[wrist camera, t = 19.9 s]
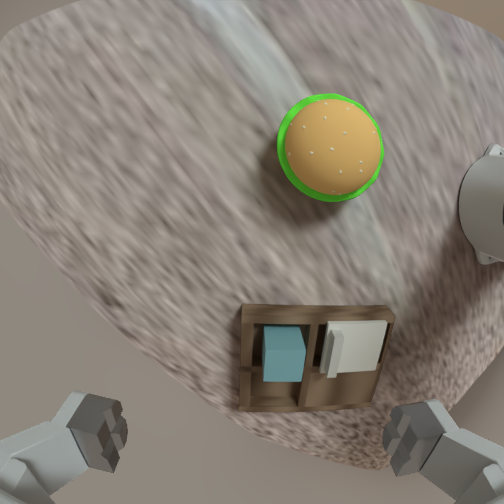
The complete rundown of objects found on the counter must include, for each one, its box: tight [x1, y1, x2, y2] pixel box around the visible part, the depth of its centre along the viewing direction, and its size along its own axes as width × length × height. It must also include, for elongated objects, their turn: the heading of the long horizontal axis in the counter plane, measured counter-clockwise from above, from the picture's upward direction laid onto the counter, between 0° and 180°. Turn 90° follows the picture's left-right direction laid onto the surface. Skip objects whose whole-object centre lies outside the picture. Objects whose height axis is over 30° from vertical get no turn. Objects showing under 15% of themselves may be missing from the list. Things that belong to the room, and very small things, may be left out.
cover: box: [319, 320, 387, 378], centre depth 37 cm, size 8×8×3 cm
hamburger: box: [277, 94, 384, 202], centre depth 31 cm, size 12×12×9 cm
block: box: [262, 324, 306, 382], centre depth 37 cm, size 4×4×7 cm
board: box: [239, 304, 395, 412], centre depth 41 cm, size 20×16×4 cm
